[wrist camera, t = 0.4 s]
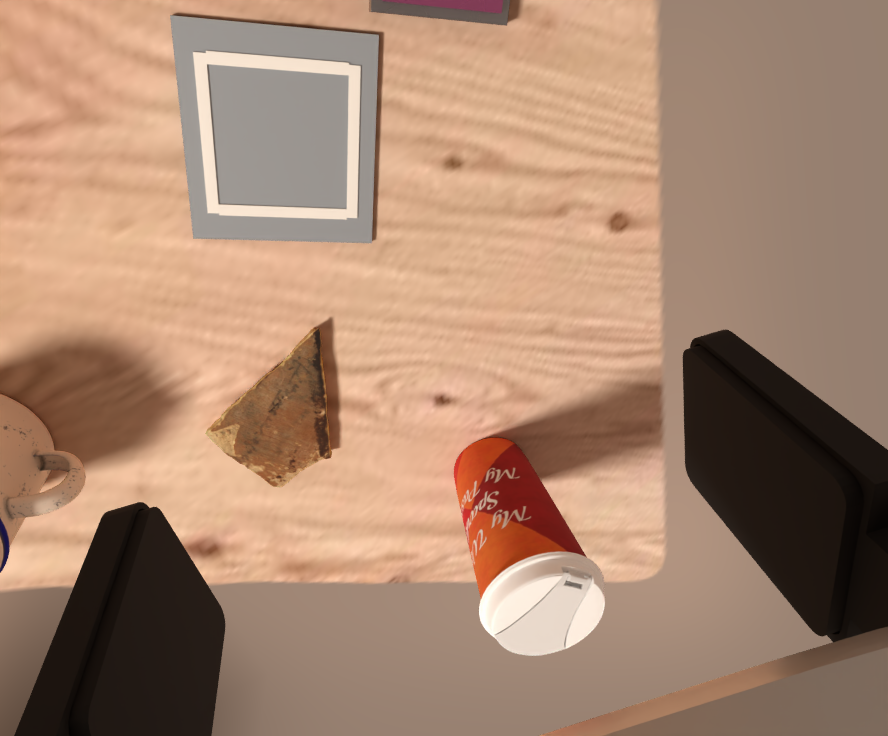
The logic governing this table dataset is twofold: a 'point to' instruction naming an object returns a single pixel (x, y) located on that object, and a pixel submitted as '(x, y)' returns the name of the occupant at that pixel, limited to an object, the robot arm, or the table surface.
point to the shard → (280, 418)
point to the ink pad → (447, 9)
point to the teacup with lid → (30, 471)
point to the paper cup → (524, 554)
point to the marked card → (277, 130)
